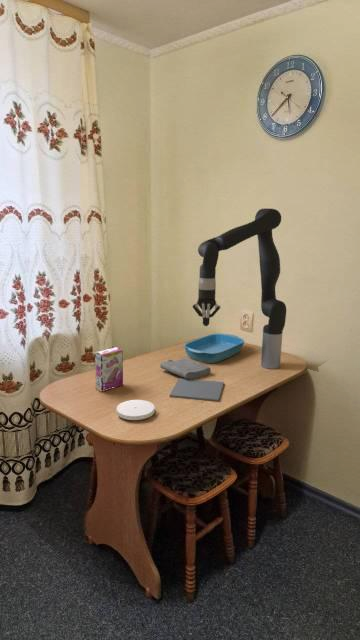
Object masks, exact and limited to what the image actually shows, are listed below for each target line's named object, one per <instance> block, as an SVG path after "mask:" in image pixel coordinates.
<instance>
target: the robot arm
mask: <svg viewBox="0 0 360 640" xmlns="http://www.w3.org/2000/svg"><path fill="white" fill-rule="evenodd" d="M281 222H282V214H281V212H280V211H279V210H277V209H276V208H275V209H274V208H268V207H267V208H261V209H259V210H258V211H257V212H256V214H255V216H254V220H252V221H250V222H248V223H245V224H242V225H240V226H236V227H233V228H231V229H230V230H227V231H225V232H223V233H221V234H220V235H218V236H216V237H215V236H214V237H212V238H210V239H207V240H204V241H202V243H200V244H199V246H198V248H197V253H198V255H199V256H200V257H202V264H201V265H200V266H199V278H198V293H197V294H198V299H197V301H196V303H194V304H193V305H192V309H194V311H195V312H196V314H197V315H198V317H202V325H203V326H204V327H208V326H209V324H210V319H211V318H212V317H214V316H215V315H216V313H217V312H218V311H220V309H221V305H219V304H218V303H217V301H216V290H217V289H216V284H217V281H216V267H217V264H218V261H219V260H218V259H219V255H220V254H219V253H220V252H221V251H227V250H229V249H231V248H233V247H234V246H237V245H239V244H240V243H242V242H244V241H246V240H249V239H251V238H252V237H255V236H257V241H258V242H257V243H258V256H259V272H260V273H259V274H260V284H261V285H260V286H261V295H260V296H261V300H260V302H261V305H260V308H261V313H262V314H263V315H264V316H265V317H267V318H268V323H267V324H264V325H263V328H262V339H261V340H262V343H261V358H260V360H261V361H260V366H261V367H262V368H264V369H270V370H273V369H274V370H277V369H279V368H281V361H282V348H283V347H282V345H283V344H282V342H283V331H284V328H285V326H286V319H287V306H286V303H285V302H284V301H282V300H279V299H277V295H276V286H277V282H278V280H279V277H280V274H281V259H280V254H279V251H278V249H277V246H276V245H275V242H274V241H275V240H274V238H273V230H274V229H276V228H277V227H279V226H280V225H281ZM199 307H200V309H201V310H200V309H199ZM213 308H214V310H213ZM211 310H213V311H212V313H211Z"/></svg>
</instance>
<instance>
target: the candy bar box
mask: <svg viewBox="0 0 360 640" xmlns="http://www.w3.org/2000/svg"><path fill="white" fill-rule="evenodd" d="M123 350H124V349H122V348H119V347H115V346H114V347H111V348H107V349H105V350H104V349H103V350H99V351H95V352H94V355H95V356H94V357H95V358H94V359H95V362H94V363H95V364H94V365H95V366H94V367H95V368H94V369H95V389H96V388H98V389H100V390H102V391H103V390H106V389H109V388H112V387H115V388H117V387H116V386H118V387H121V386H120V385H122V386H124V351H123ZM98 389H97V390H98ZM112 389H113V388H112ZM109 390H110V389H109ZM106 391H107V390H106ZM103 392H104V391H103Z"/></svg>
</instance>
